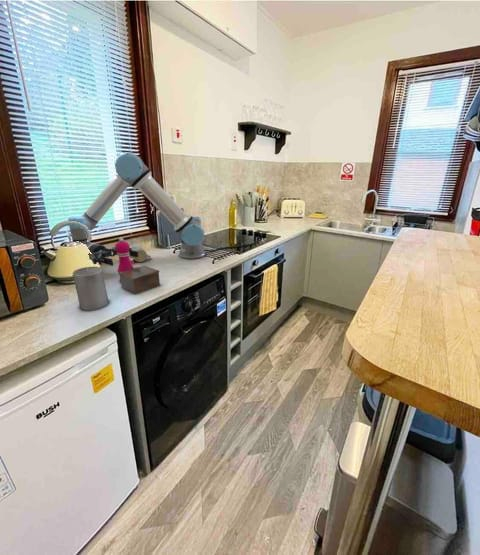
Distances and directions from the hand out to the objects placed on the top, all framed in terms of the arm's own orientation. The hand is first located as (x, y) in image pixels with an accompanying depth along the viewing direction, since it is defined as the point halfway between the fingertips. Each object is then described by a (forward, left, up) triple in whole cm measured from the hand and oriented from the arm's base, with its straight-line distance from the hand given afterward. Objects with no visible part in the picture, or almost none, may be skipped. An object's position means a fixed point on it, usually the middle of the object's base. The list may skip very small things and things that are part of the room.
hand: (125, 258), depth 122 cm
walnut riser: (0, +10, -11) cm, 15 cm away
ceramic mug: (-21, -23, -11) cm, 33 cm away
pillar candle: (+21, +12, -11) cm, 27 cm away
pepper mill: (0, -1, -11) cm, 11 cm away
